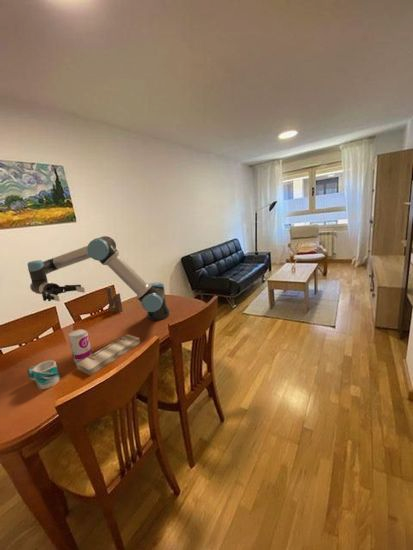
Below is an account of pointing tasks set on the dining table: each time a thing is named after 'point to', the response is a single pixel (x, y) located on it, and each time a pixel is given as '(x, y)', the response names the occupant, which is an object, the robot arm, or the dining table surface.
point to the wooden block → (114, 301)
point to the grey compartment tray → (107, 354)
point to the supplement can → (79, 345)
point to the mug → (44, 374)
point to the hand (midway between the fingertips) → (71, 294)
